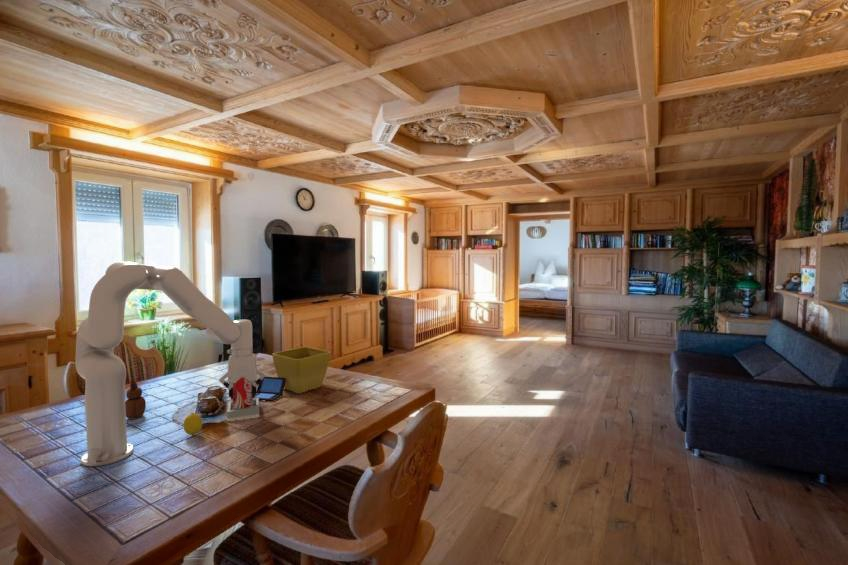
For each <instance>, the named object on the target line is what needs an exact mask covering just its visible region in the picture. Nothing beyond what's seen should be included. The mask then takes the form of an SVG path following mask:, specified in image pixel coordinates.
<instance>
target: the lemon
mask: <svg viewBox="0 0 848 565" xmlns="http://www.w3.org/2000/svg"><path fill="white" fill-rule="evenodd" d="M202 428H203V419H202V417H201V415H200V414H198V413H195V412H191V413H190V414H188V415H187V416H186V417H185V418H184V421H183V430H184V432H185V433H186V434H187V435H189V436H190V435H191V436H192V437H193V436H194V437H195V436H196V434H198V433H199V432H200V431H201V430H202Z"/></svg>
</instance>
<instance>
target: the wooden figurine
mask: <svg viewBox="0 0 848 565" xmlns="http://www.w3.org/2000/svg"><path fill="white" fill-rule="evenodd" d="M129 384H130V388H129V389H128V390H127V391H126V392H125V397H126V398H127V399H126V400H125V406H126V419H128V420H135V419H139V418H141V417H143V416H144V415H145V412H146V407H147V406H146V405H147V404H146V399H145V397H143V396H142V395H143V390H142V388H141V387H138V384H137V381H135V380H134V379H133V380H132V379H130V383H129Z"/></svg>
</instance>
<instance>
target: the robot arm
mask: <svg viewBox="0 0 848 565" xmlns="http://www.w3.org/2000/svg"><path fill="white" fill-rule="evenodd" d="M104 273H105V274H104V275H103V276H101V278H100V279H98V281H97V282H96V284H95V285H94V287H93V289H92V291H91V293H90V297H89V306H88V312H87V313H88V314H87V318H85V319H83V321H81V322H80V324H79V326H78V329H77V330H76V337H75V338H76V341H75V359H74V360H75V370H76V372H77V374H78V375H79V377H81V378H82V379H83V380H84V381H85V382H84V383H85V387H84V388H85V390H84V410H85V412H84V414H85V427H86V428H85V429H86V430H85V432H86V447H87V450H86V451H87V452H86V453H84V454H83V455H82V456H81V458H80V463H81V465H82V466H86V467H100V466H106V465H110V464H113V463H116V462H118V461H121V460H123V459H126V458H127V457H129V456H130V455H131V454H132V453H134V448H135V447H134V445H133V444H131V443H128V434H127V432H128V430H127V417H126V406H125V402H126V381H127V380H126V379H127V368H126V364H125V362H124V361H123V359H122V358H121V357H119V356H118V355H115V354H114V353H115V352H114V350H115V348H116V347H117V346H119V345H120V344H121V342H122V341H123V338H124V334H125V310H126V303H127V299H128V297H129V296H130V295H131V294H132V292H134V290H146V291H147V290H148V291H161V292H163V293H164V295H165V296H167V298H168V299H170V300H171V301H172V302H173V304H175V305H176V306H177V307H178V309H180V310H181V311H182V312H183V313H184V314H185V315H187V316H189V317H190V318H192V319H194V320H196V321H198V322H199V323H201V324H203V325H204V326H206V329H205V335H206V337H207V338H208V339H210V340H211V341H213V342H216V343H220V344H224V345H230V349H227V350H226V354H229V356H228V361H227V372H226V373H224V375H222V376H221V377H220V378H219V380H218V381H219V382H220V384H222V385H223V386H224V387H226V389H228V397H229V398H230V401H233V383H236V382H237V381H238V380H239V379H240V378H239V377H245V379H247V380H248V381H249V382H251V381H252V384H253V387H252V395H253V397H255V396H254V394H256V391H257V387H258V384H259V383H260V382H261V380H262V379H263V378H264V377H265V376H266V375H265V373H263V372H262V371H260V370H259V369H258V367H257V360H256V359H257V358H256V356H255V353H253V351H254V350H253V348H254V347H253V323H252V321H251V320H250V319H244V318H243V319H242V318H241V319H235V320H233V319H232V317H230V316H229V315H228V314H227V312H225V311H224V310H223V309H221V308H220V307H219V306H218V305H216V304H215V303H214V302H213V301H212V300H210V299H209V298H208V297H206V296H205V294H204V293H203V292H202V290H200V289H199V288H198V287H197V286H196V284H194V283H193V282H192V280H191V279H189V277H188V276H187V275H186V274H185V273H184V272H183V271H182V270H180V269H179V268H178V267H176V266H167V265H166V266H165V265H150V264H142V263H140V262H139V263H138V262H133V261H117V262H113V263H112V264H110V265H109V266H108V267H107V269H106V270H105V272H104ZM258 376H259V377H258ZM257 377H258V378H257ZM226 379H227V381H226Z"/></svg>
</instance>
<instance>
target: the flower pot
mask: <svg viewBox="0 0 848 565" xmlns="http://www.w3.org/2000/svg"><path fill="white" fill-rule="evenodd" d="M330 356H331V351H328V350H323V349H320V348H314V347H311V346H310V347H309V346H301V347H297V348H291V349H287V350H283V351H282V350H281V351H277V352H273V353H272V361H273V364H274V368H275V369H274V370H275V372H276V375H277V377H279V378H285V379H286V382H285V386H284V388H285V389H287V390H286V391H288V390H290V391H289V392H291V391H293V392H292V393H295V392H296V393H295V394H298V393H300V394H303V393H302V392H304V393H306V392H305V391H307V392H309V391H308V390H310V391H312V390H311V389H313V390H315V389H314V388H316V387H319V386H321V387H322V385H323V382H324V379H325V376H326V374H327V371H328V367H329V363H330V362H329V361H330ZM285 389H284V390H285ZM316 389H317V388H316Z"/></svg>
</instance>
